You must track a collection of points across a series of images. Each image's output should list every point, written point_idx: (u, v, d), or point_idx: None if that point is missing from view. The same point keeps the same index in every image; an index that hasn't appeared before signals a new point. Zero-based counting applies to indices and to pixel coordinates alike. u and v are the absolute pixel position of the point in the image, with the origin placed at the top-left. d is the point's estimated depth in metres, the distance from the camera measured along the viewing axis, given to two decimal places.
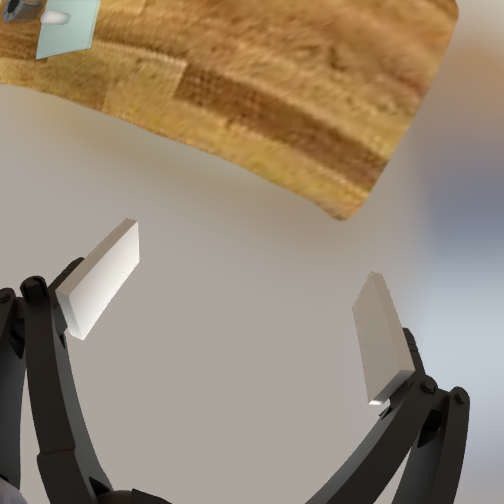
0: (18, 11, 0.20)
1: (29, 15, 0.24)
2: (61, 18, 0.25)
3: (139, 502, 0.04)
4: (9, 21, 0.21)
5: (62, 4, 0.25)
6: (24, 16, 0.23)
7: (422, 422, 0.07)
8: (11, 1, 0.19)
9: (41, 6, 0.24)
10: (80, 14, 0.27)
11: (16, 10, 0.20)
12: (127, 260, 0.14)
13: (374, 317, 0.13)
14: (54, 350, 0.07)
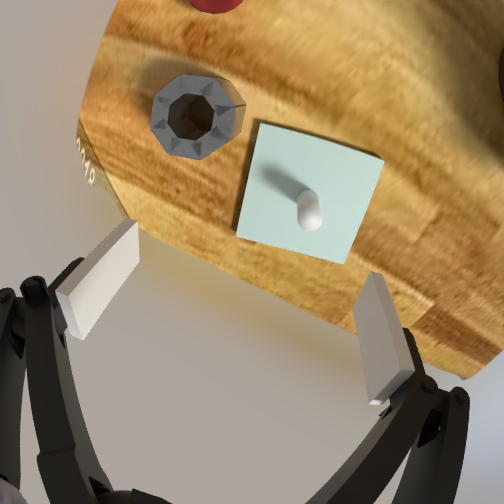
0: (212, 149, 0.25)
1: None
2: None
3: (139, 502, 0.04)
4: None
5: (300, 164, 0.29)
6: None
7: (422, 422, 0.07)
8: (174, 102, 0.23)
9: (238, 133, 0.29)
10: (338, 207, 0.31)
11: (205, 143, 0.25)
12: (127, 260, 0.14)
13: (374, 317, 0.13)
14: (54, 350, 0.07)
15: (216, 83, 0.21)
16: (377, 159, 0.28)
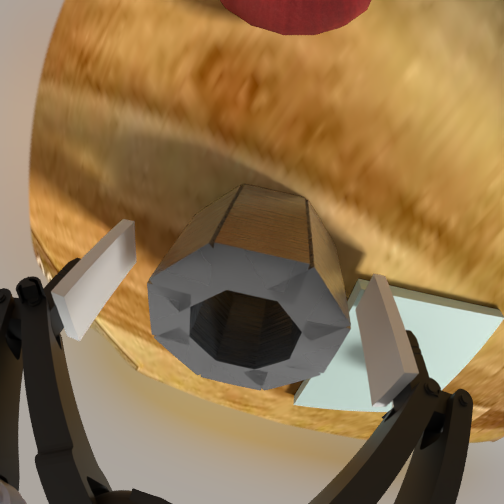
0: None
1: None
2: None
3: (139, 502, 0.04)
4: None
5: None
6: None
7: (425, 425, 0.07)
8: None
9: None
10: (434, 372, 0.19)
11: (276, 374, 0.12)
12: (124, 261, 0.14)
13: (378, 320, 0.12)
14: (50, 350, 0.07)
15: (314, 278, 0.09)
16: (498, 318, 0.15)
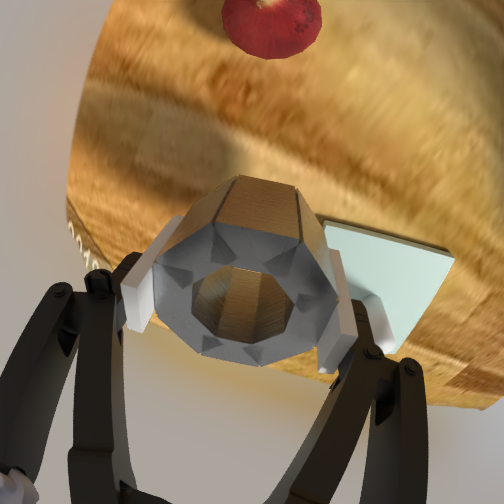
0: None
1: None
2: None
3: (139, 502, 0.04)
4: None
5: (369, 270, 0.24)
6: None
7: (373, 390, 0.08)
8: None
9: None
10: (400, 308, 0.26)
11: (272, 349, 0.14)
12: None
13: None
14: (111, 348, 0.08)
15: (304, 252, 0.10)
16: (449, 258, 0.22)
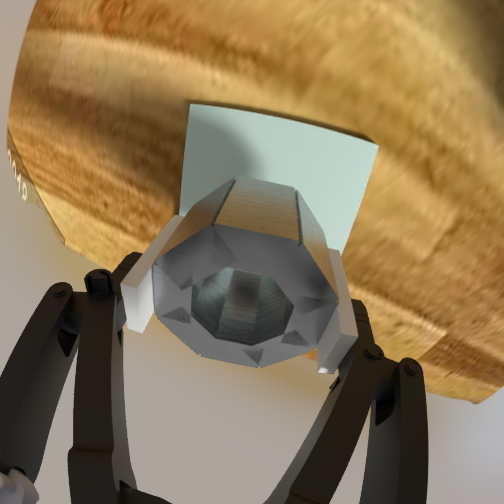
0: None
1: None
2: None
3: (139, 502, 0.04)
4: None
5: (252, 157, 0.20)
6: None
7: (373, 390, 0.08)
8: None
9: None
10: None
11: (271, 351, 0.14)
12: None
13: None
14: (111, 348, 0.08)
15: (304, 254, 0.10)
16: (367, 143, 0.18)
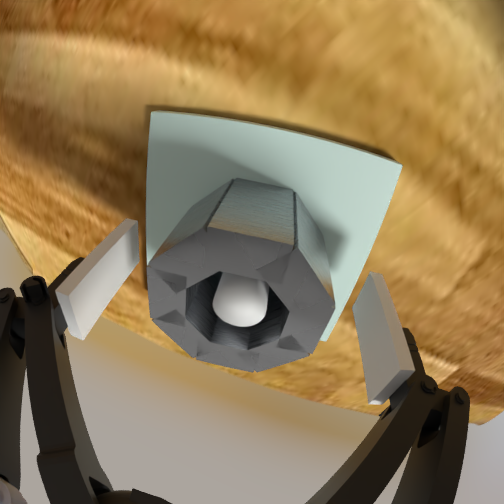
0: None
1: None
2: None
3: (139, 502, 0.04)
4: None
5: None
6: None
7: (422, 422, 0.07)
8: None
9: None
10: None
11: (267, 355, 0.13)
12: (127, 260, 0.14)
13: (374, 318, 0.13)
14: (54, 350, 0.07)
15: (299, 259, 0.10)
16: (388, 162, 0.13)
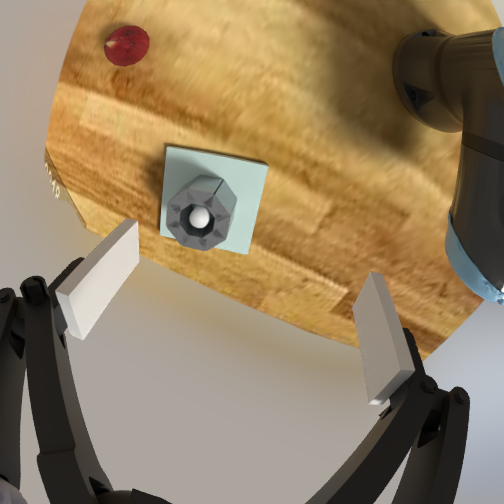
0: (214, 244, 0.36)
1: None
2: None
3: (139, 502, 0.04)
4: None
5: None
6: None
7: (422, 422, 0.07)
8: (183, 208, 0.34)
9: None
10: None
11: (209, 240, 0.36)
12: (127, 260, 0.14)
13: (374, 317, 0.13)
14: (54, 350, 0.07)
15: (215, 198, 0.33)
16: (261, 165, 0.36)
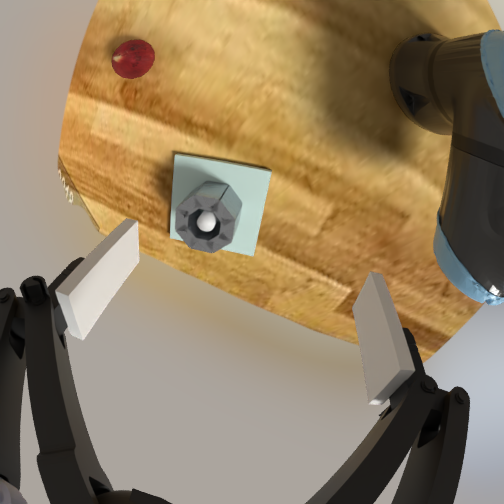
0: (221, 246, 0.38)
1: None
2: None
3: (139, 502, 0.04)
4: None
5: None
6: None
7: (422, 423, 0.07)
8: None
9: (237, 224, 0.42)
10: None
11: (216, 243, 0.38)
12: (127, 260, 0.14)
13: (374, 317, 0.13)
14: (54, 350, 0.07)
15: (221, 203, 0.35)
16: (265, 171, 0.38)
